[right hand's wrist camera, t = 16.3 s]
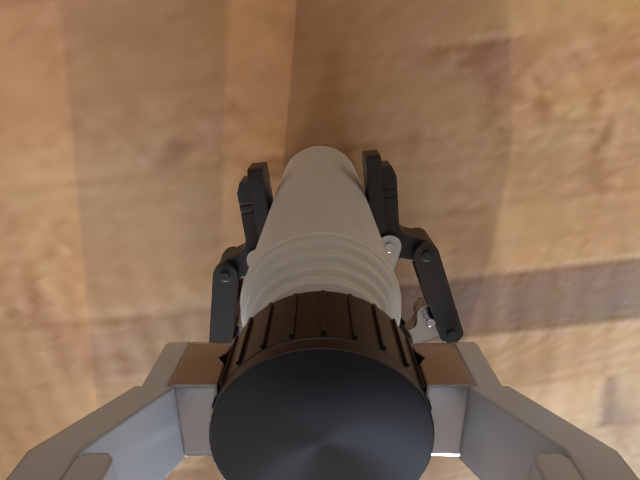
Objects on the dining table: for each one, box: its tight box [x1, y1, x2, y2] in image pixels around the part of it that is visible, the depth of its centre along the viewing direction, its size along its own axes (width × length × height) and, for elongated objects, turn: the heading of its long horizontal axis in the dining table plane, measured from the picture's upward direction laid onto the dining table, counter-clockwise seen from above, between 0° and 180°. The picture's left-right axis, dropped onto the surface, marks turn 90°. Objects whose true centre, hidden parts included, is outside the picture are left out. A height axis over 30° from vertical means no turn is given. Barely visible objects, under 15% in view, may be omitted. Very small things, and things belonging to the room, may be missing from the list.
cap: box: [209, 290, 435, 480], centre depth 9 cm, size 4×4×2 cm
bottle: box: [240, 146, 401, 327], centre depth 18 cm, size 5×5×20 cm
